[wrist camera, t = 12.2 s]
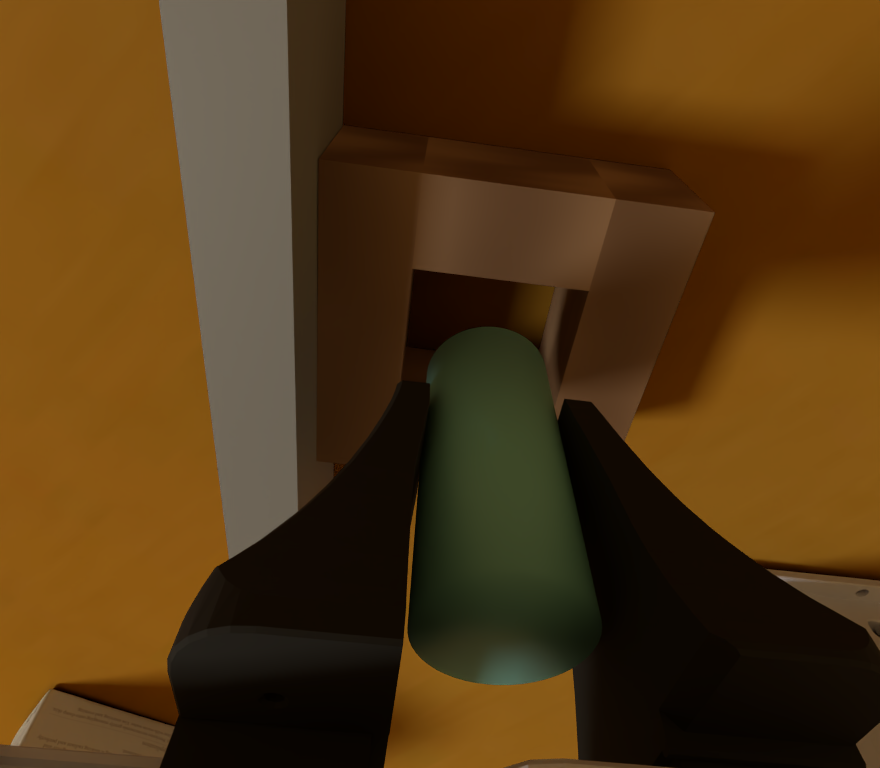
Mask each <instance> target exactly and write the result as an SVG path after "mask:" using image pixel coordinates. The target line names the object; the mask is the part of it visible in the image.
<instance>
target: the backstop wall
mask: <svg viewBox="0 0 880 768" xmlns="http://www.w3.org/2000/svg"><path fill="white" fill-rule="evenodd" d="M159 5H160V13H161V21H162V29H163V37H164V44H165V52H166V60H167V68H168V76H169V84H170V92H171V100H172V108H173V116H174V124H175V132H176V140H177V148H178V156H179V164H180V172H181V180H182V188H183V196H184V203H185V211H186V219H187V227H188V235H189V243H190V251H191V259H192V267H193V275H194V283H195V291H196V299H197V307H198V315H199V323H200V331H201V339H202V347H203V355H204V362H205V370H206V378H207V386H208V394H209V402H210V410H211V418H212V426H213V434H214V442H215V450H216V458H217V466H218V474H219V482H220V490H221V498H222V506H223V514H224V521H225V529H226V537H227V545H228V553H229V559H230V558H232V557H234V556H235V555H237V554H239V553H240V552H242V551H243V550H245V549H247V548H248V547H250V546H251V545H253V544H255V543H256V542H258V541H259V540H260V539H262V538H263V537H265V536H266V535H267V534H269V533H270V532H271V531H273V530H274V529H275V528H277V527H278V526H279V525H281V524H282V523H283V522H285V521H286V520H287V519H289V518H290V517H291V516H293V515H294V514H295V513H296V512H298V511H299V510H300V509H301V508H302V507H303V506H305V505H306V504H307V503H308V502H309V501H310V500H311V499H312V498H313V497H315V496H316V495H317V494H318V493H319V492H320V491H321V490H322V489H323V488H324V487H325V486H326V485H327V484H328V483H329V482H330V481H331V480H332V479H333V476H334V463H329V462H319V461H316V442H317V298H318V159H319V158H320V156H321V155H322V154H323V152H324V151H325V150H326V148H327V147H328V146H329V144H330V143H331V141H332V140H333V139H334V137H335V136H336V135H337V133H338V132H339V131H340V129H341V128H342V127H343V94H344V56H345V18H346V0H159Z"/></svg>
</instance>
